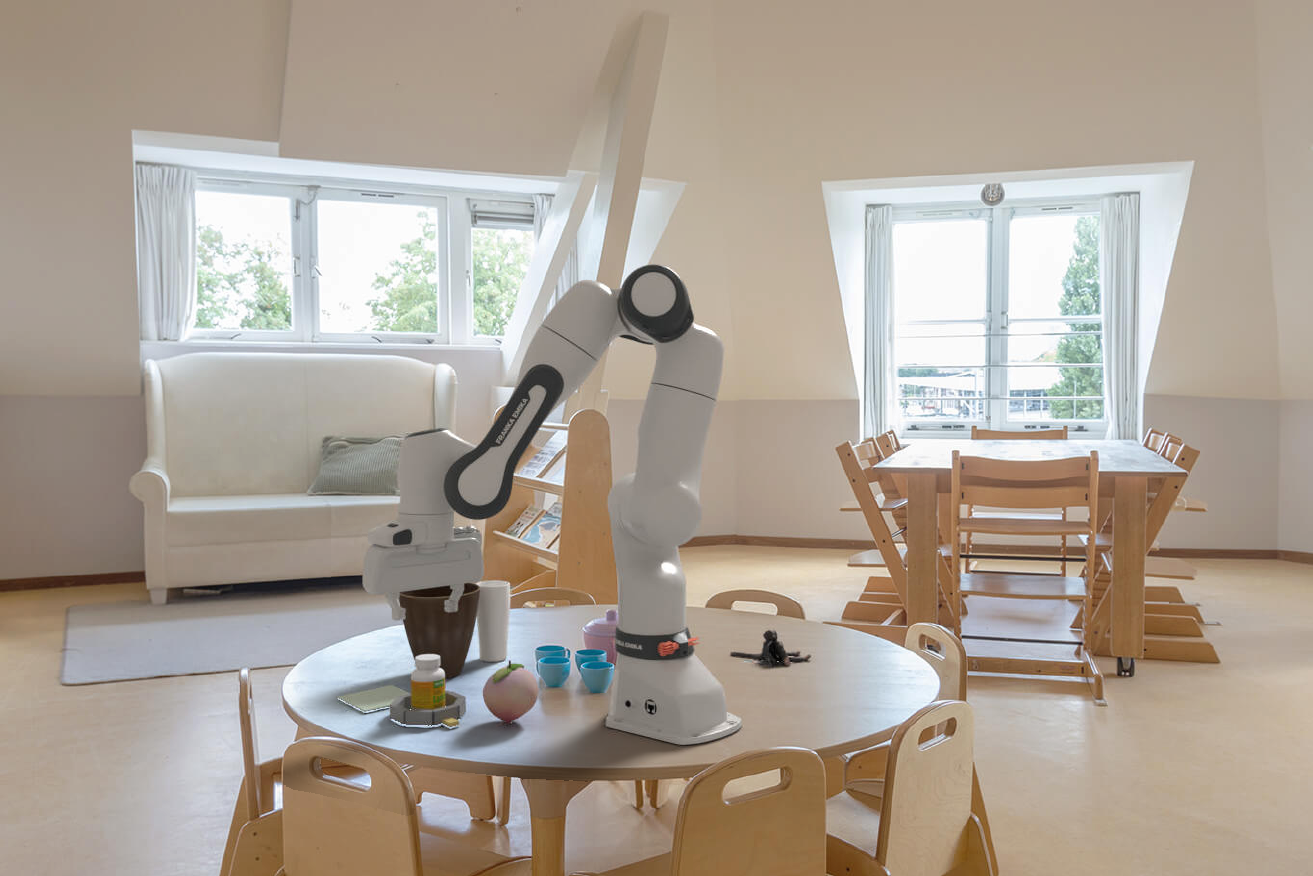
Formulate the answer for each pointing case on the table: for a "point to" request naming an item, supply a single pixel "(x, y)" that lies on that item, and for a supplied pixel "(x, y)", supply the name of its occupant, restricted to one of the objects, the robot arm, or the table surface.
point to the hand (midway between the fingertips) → (425, 615)
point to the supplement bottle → (427, 683)
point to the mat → (373, 698)
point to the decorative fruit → (510, 692)
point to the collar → (429, 711)
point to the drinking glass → (493, 620)
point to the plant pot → (441, 624)
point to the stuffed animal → (772, 652)
